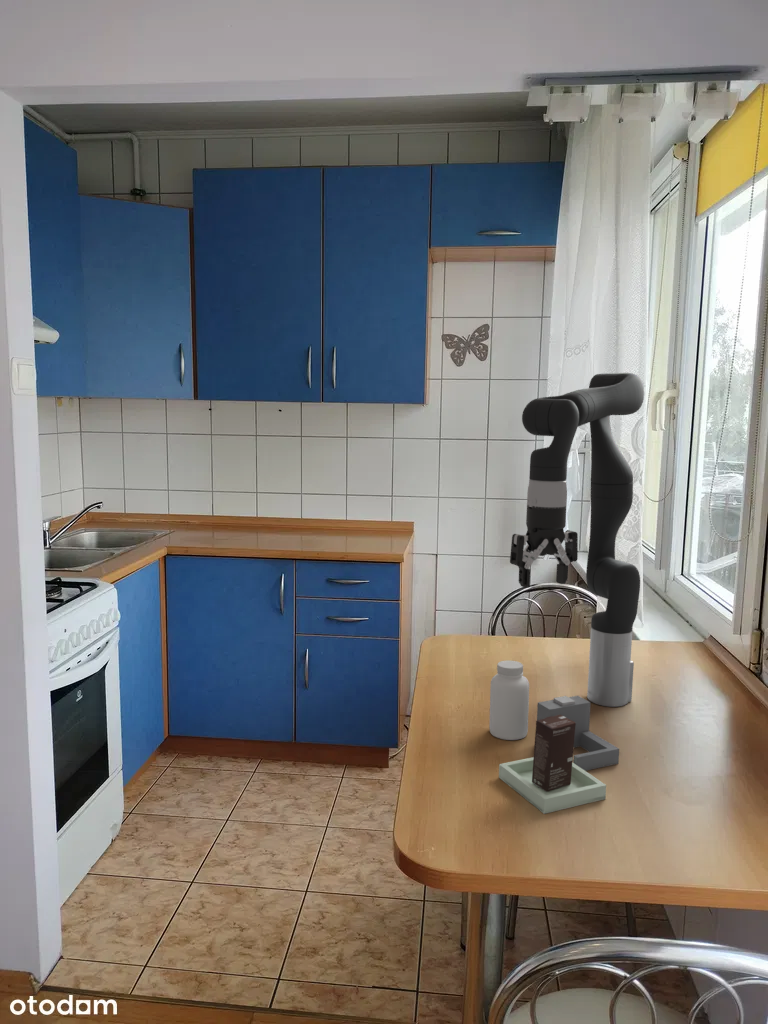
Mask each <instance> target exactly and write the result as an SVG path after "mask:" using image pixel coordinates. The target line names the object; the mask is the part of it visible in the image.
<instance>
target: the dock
mask: <svg viewBox="0 0 768 1024" xmlns="http://www.w3.org/2000/svg"><path fill="white" fill-rule="evenodd" d="M591 703H592V702H591V701H590V700H588V699H586V698H583V697H582V696H580V695H574V696H573V695H572V696H567V695H564V696H558V697H557V696H556V697H553V699H549V700H544V701H539V702H538V701H537V706H536V707H537V708H536V709H537V710H536V713H537V714H536V721H537V720H540V719H544V718H546V717H550V716H556V715H562V716H564V717H566V718H568V719H570V720H572V721H574V722H575V723H576V725H575V737H574V748H573V749H575V748H579V747H581V748H582V749H584V750H585V751H587V752H584V753H578V754H575V755H574V754H573V760H572V762H573V763H574V764H576V765H577V766H579V767H580V768H582V769H583V770H585V771H586V772H587V771H591V770H595V769H600V768H605V767H608V766H614V765H617V764H618V765H619V760H620V759H619V757H620V748H619V747H618V746H615V744H612V743H610V742H608V740H606V739H603V738H602V737H600V736H599V735H597V734H595V733H593V732H592V731H590V723H591V721H590V719H591Z"/></svg>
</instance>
